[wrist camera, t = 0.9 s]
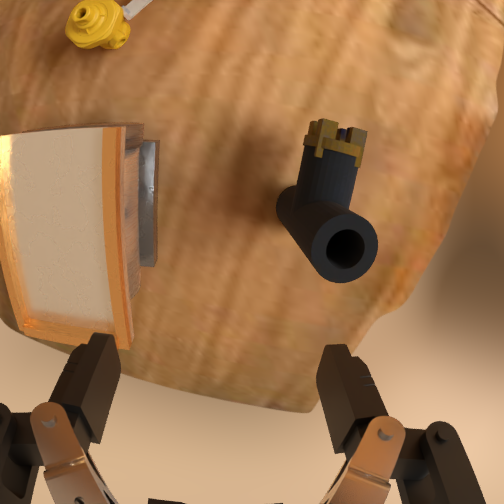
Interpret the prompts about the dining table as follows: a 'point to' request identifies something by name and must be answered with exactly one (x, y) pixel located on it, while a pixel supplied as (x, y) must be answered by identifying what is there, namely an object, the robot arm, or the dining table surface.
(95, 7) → the pressure relief valve
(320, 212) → the pipe connector
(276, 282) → the dining table surface
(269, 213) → the dining table surface
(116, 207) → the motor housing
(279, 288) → the dining table surface
